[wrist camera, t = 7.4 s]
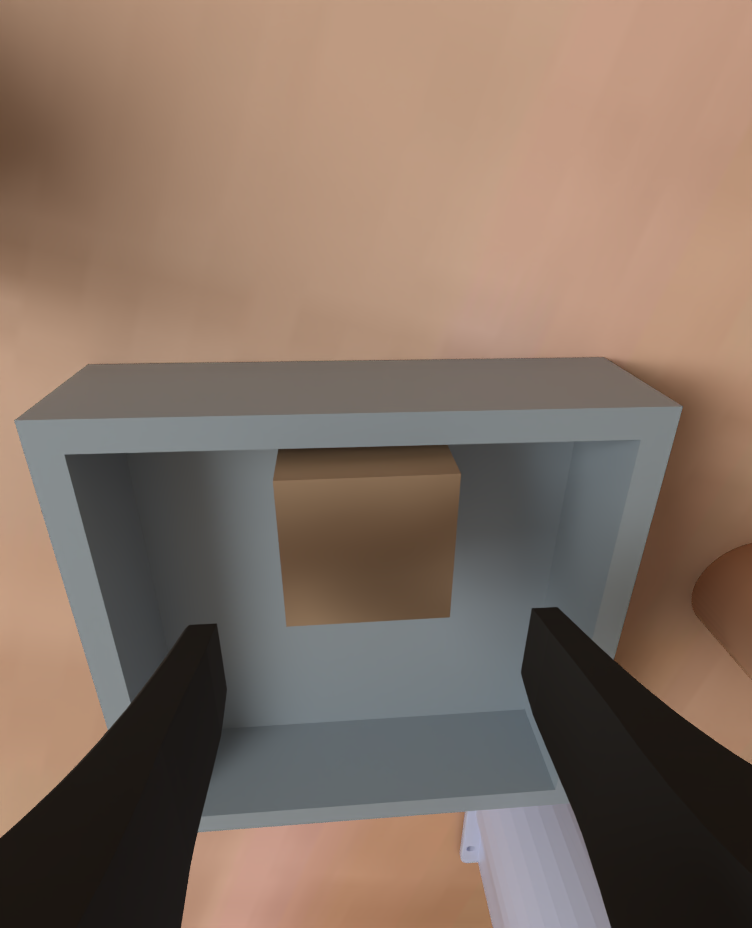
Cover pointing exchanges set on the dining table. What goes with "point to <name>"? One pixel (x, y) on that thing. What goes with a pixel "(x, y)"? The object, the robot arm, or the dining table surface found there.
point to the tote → (349, 644)
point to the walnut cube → (366, 532)
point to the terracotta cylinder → (728, 603)
